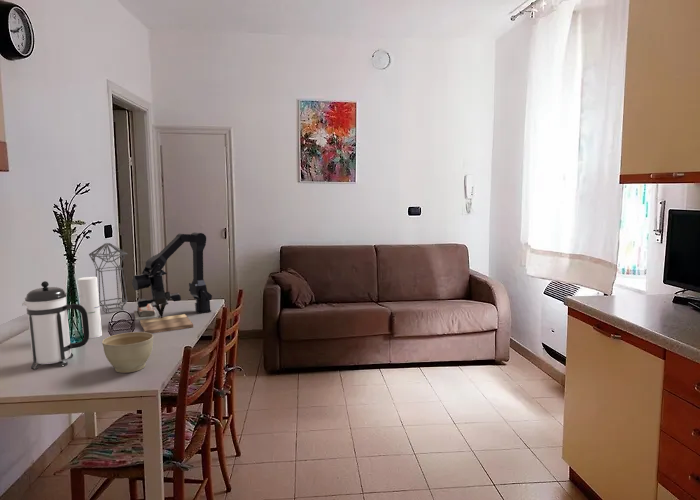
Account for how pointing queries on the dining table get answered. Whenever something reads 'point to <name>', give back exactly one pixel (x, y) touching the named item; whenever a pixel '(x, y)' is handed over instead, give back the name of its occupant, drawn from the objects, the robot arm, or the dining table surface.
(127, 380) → the dining table surface
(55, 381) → the dining table surface
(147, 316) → the packaged product
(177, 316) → the oak plank
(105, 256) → the geometric lantern
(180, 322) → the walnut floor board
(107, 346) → the planter bowl
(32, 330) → the coffee press
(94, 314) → the cylindrical container
